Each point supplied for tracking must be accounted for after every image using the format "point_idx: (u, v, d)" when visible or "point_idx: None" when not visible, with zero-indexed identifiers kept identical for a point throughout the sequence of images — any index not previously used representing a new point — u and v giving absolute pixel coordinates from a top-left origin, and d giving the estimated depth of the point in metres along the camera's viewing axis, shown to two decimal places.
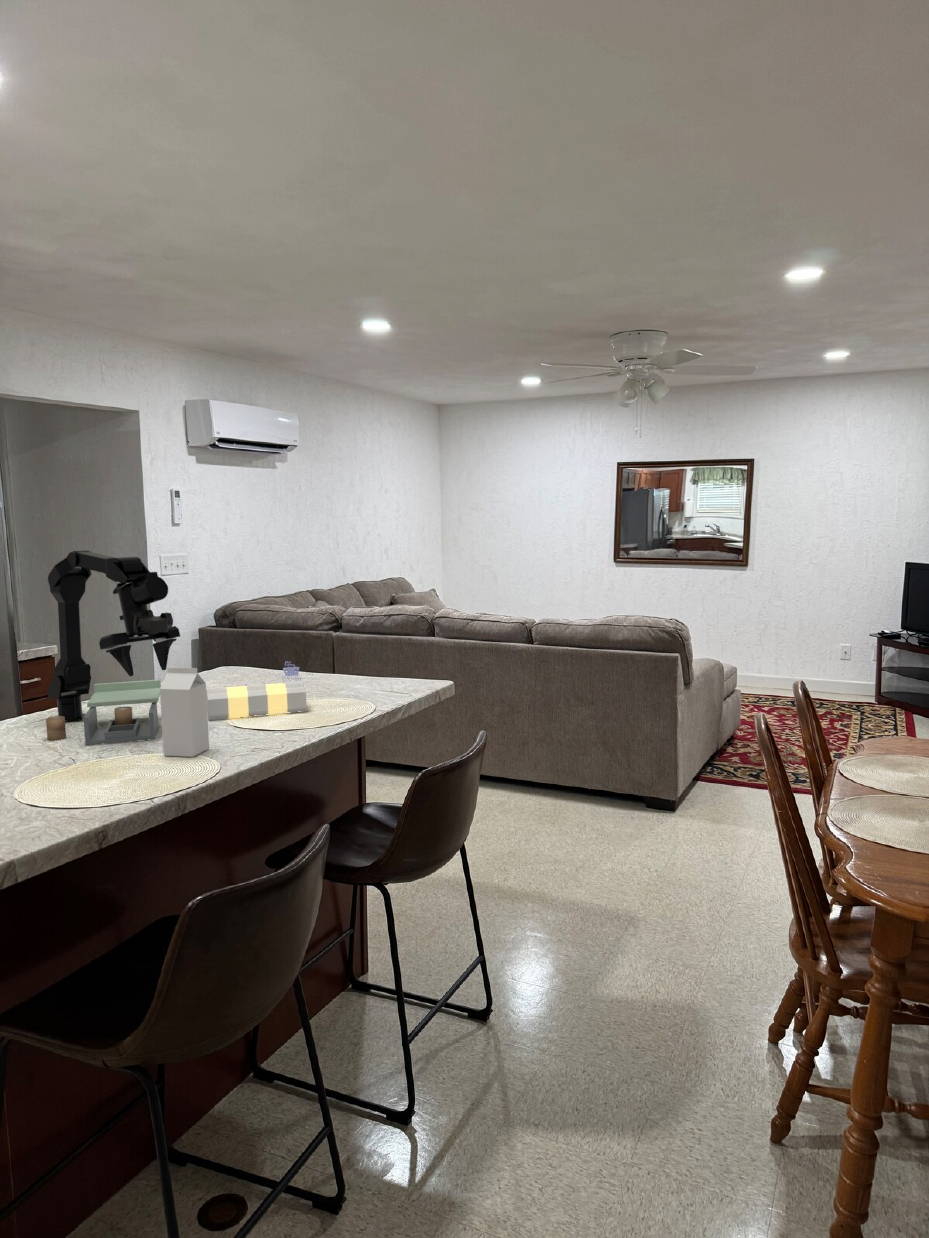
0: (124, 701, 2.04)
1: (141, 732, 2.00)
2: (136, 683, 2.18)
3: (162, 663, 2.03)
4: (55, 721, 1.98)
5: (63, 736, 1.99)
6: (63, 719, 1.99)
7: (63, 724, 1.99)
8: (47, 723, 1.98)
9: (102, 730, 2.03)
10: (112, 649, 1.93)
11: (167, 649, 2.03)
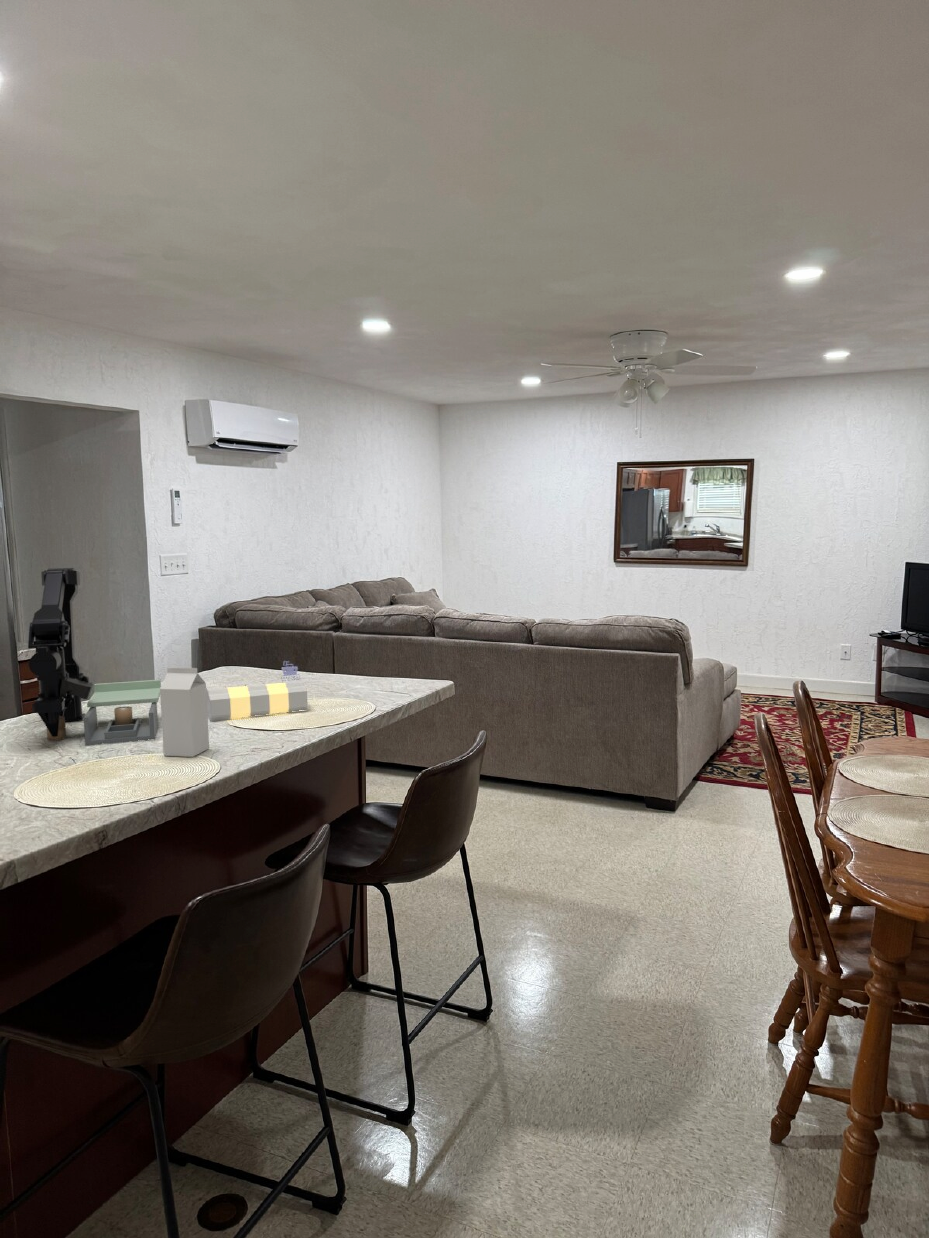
0: (124, 701, 2.04)
1: (141, 732, 2.00)
2: (136, 683, 2.18)
3: None
4: None
5: (63, 736, 1.99)
6: (63, 719, 1.99)
7: (63, 724, 1.99)
8: None
9: (102, 730, 2.03)
10: None
11: (63, 711, 2.03)
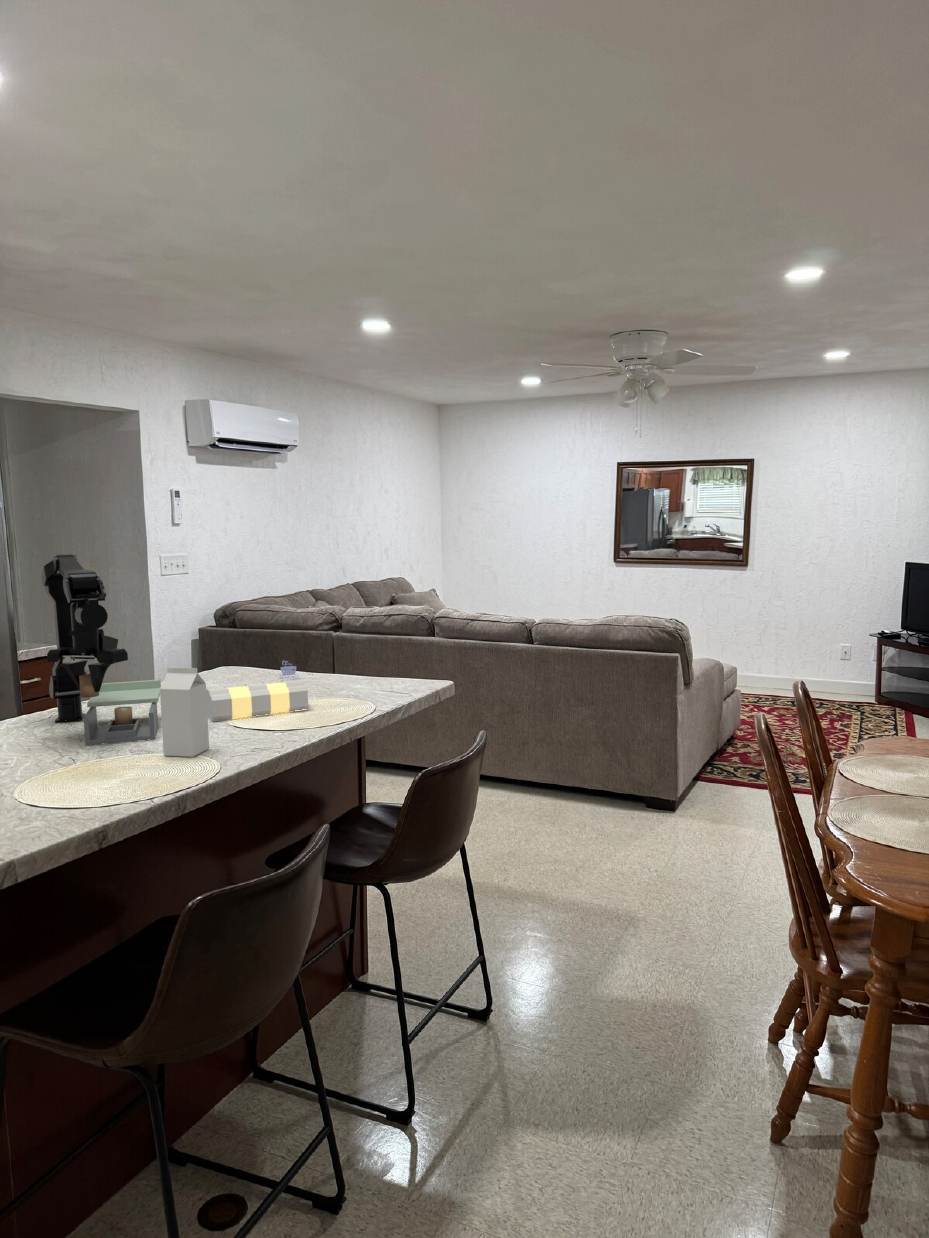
0: (124, 701, 2.04)
1: (141, 732, 2.00)
2: (136, 683, 2.18)
3: None
4: None
5: None
6: None
7: None
8: (87, 680, 1.95)
9: (102, 730, 2.03)
10: (107, 663, 1.95)
11: None
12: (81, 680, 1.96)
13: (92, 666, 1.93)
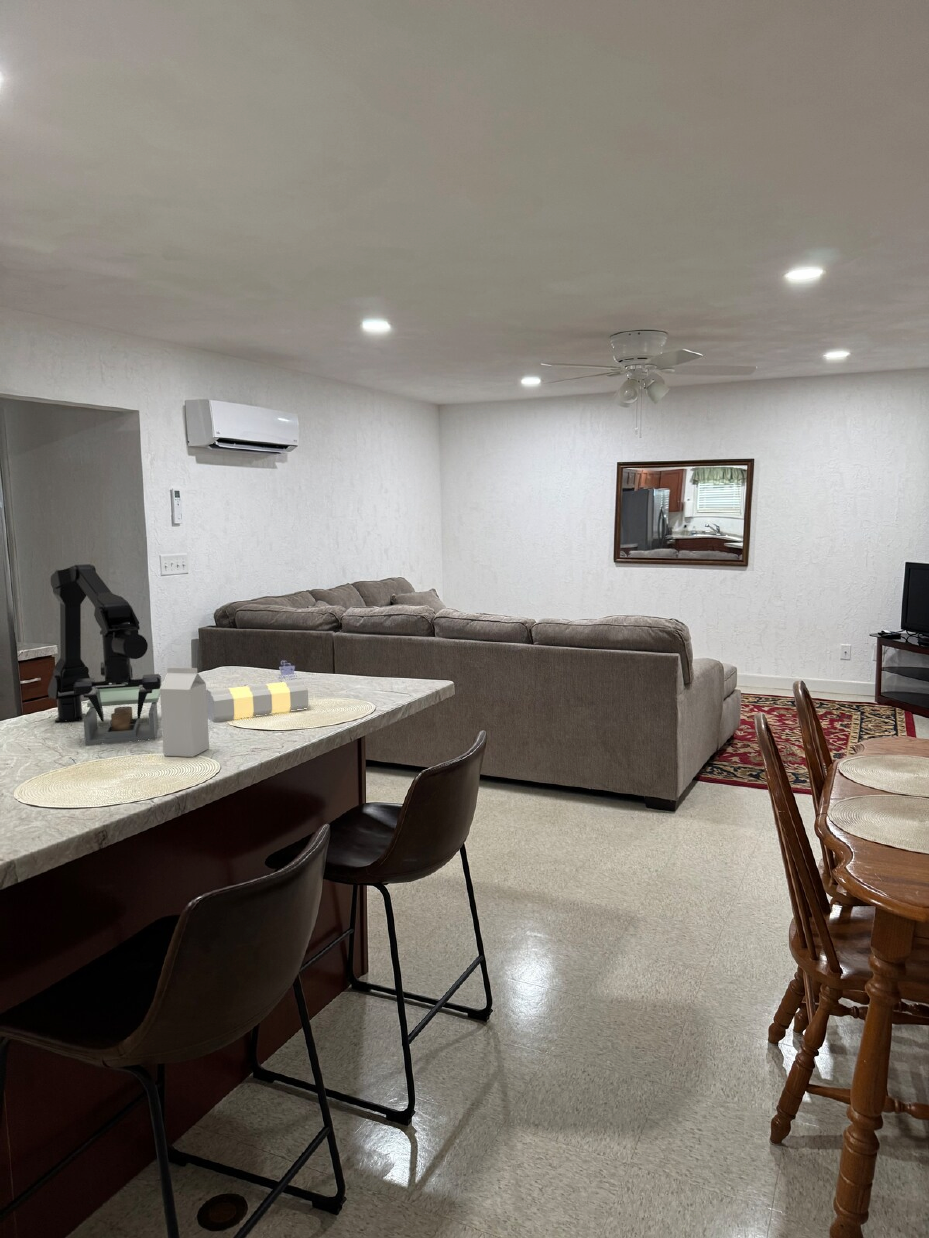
0: (124, 701, 2.04)
1: (141, 732, 2.00)
2: None
3: None
4: None
5: None
6: None
7: None
8: (125, 718, 1.97)
9: (102, 730, 2.03)
10: (152, 689, 2.00)
11: None
12: (118, 719, 1.96)
13: (144, 693, 1.97)
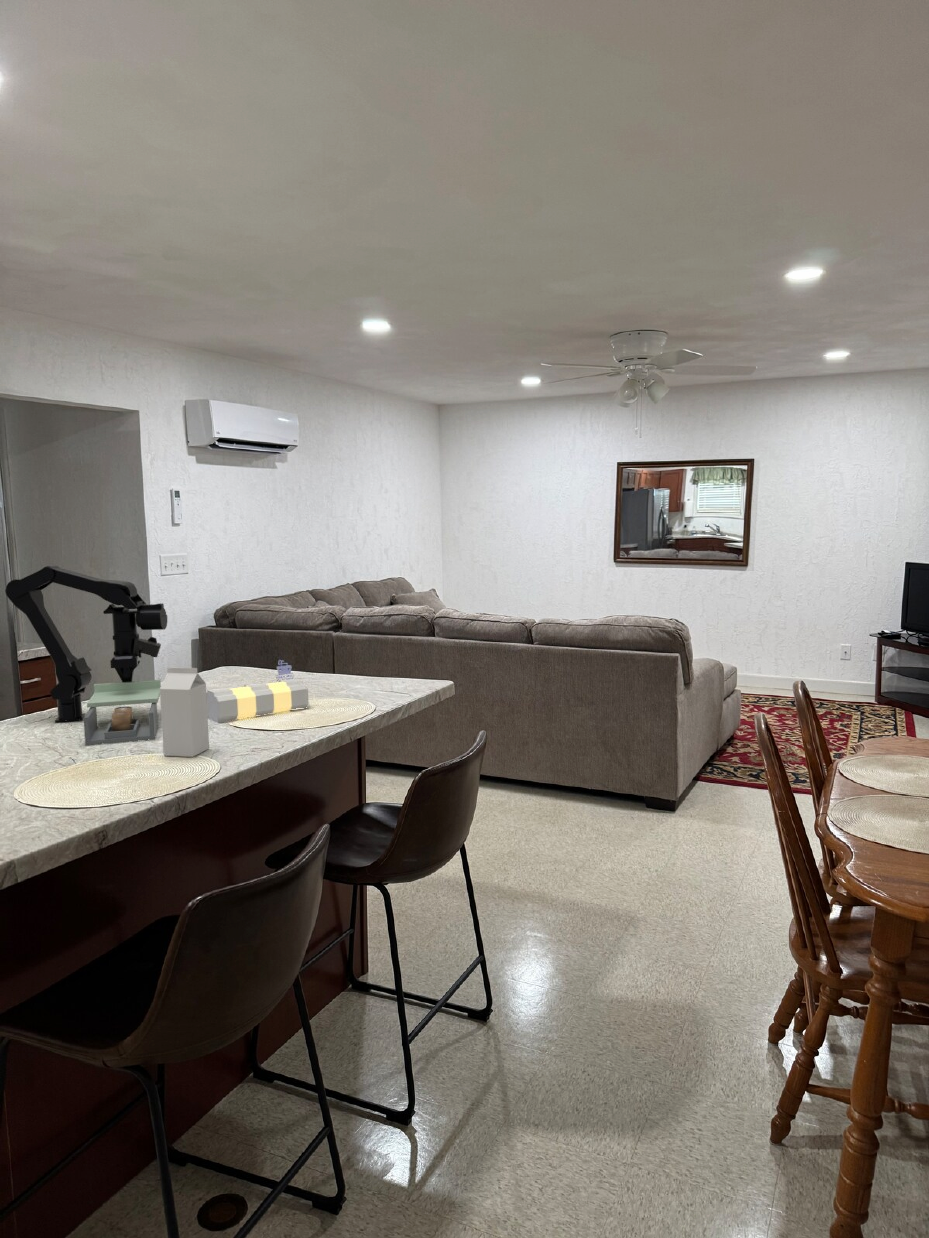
0: (124, 701, 2.04)
1: (141, 732, 2.00)
2: (136, 683, 2.18)
3: None
4: (129, 714, 1.99)
5: None
6: None
7: None
8: (126, 718, 1.97)
9: (102, 730, 2.03)
10: None
11: (133, 670, 2.21)
12: (119, 719, 1.96)
13: None
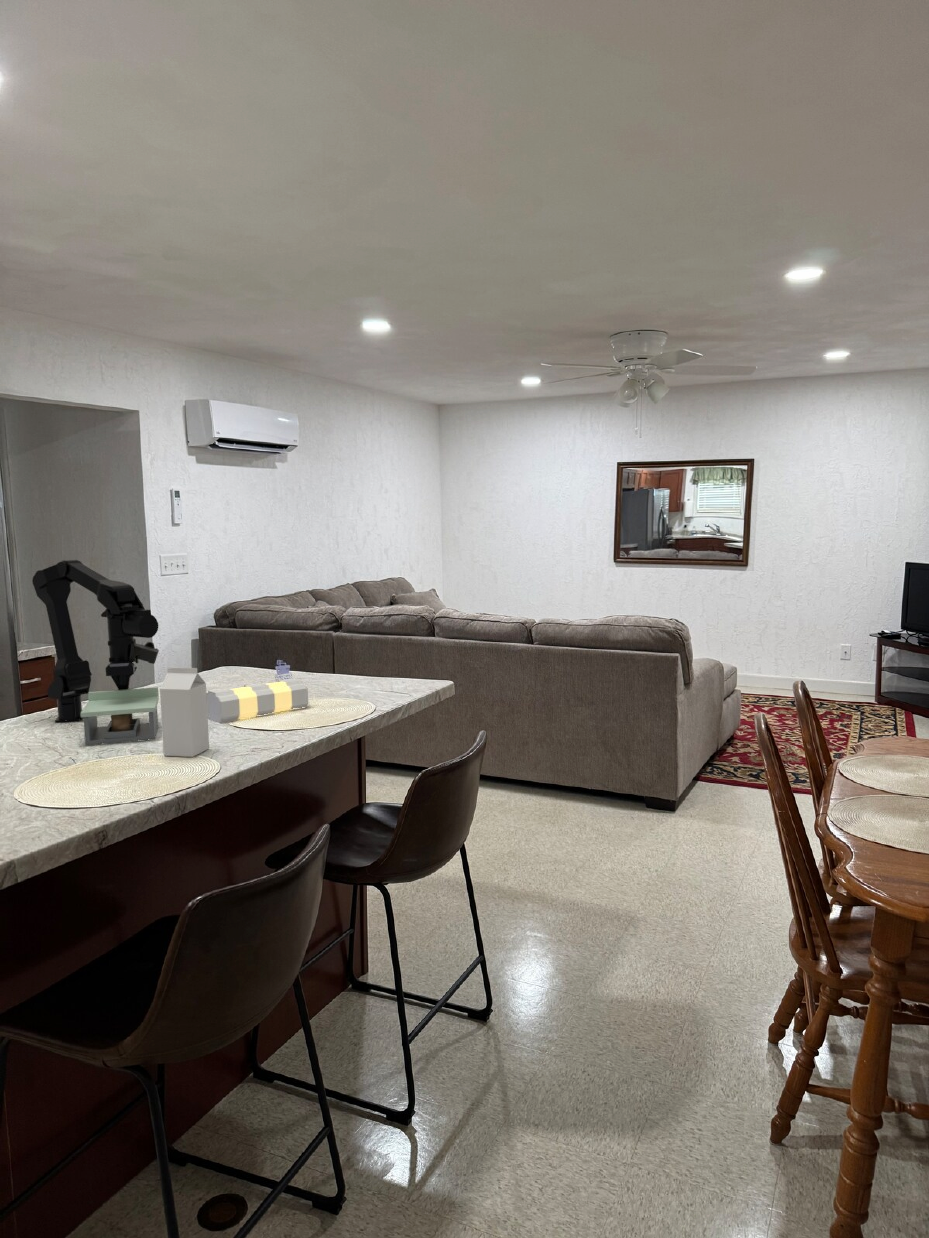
0: (119, 711, 1.94)
1: (141, 732, 2.00)
2: (132, 691, 2.07)
3: None
4: None
5: None
6: None
7: None
8: (125, 718, 1.97)
9: (102, 730, 2.03)
10: None
11: None
12: (119, 719, 1.96)
13: None
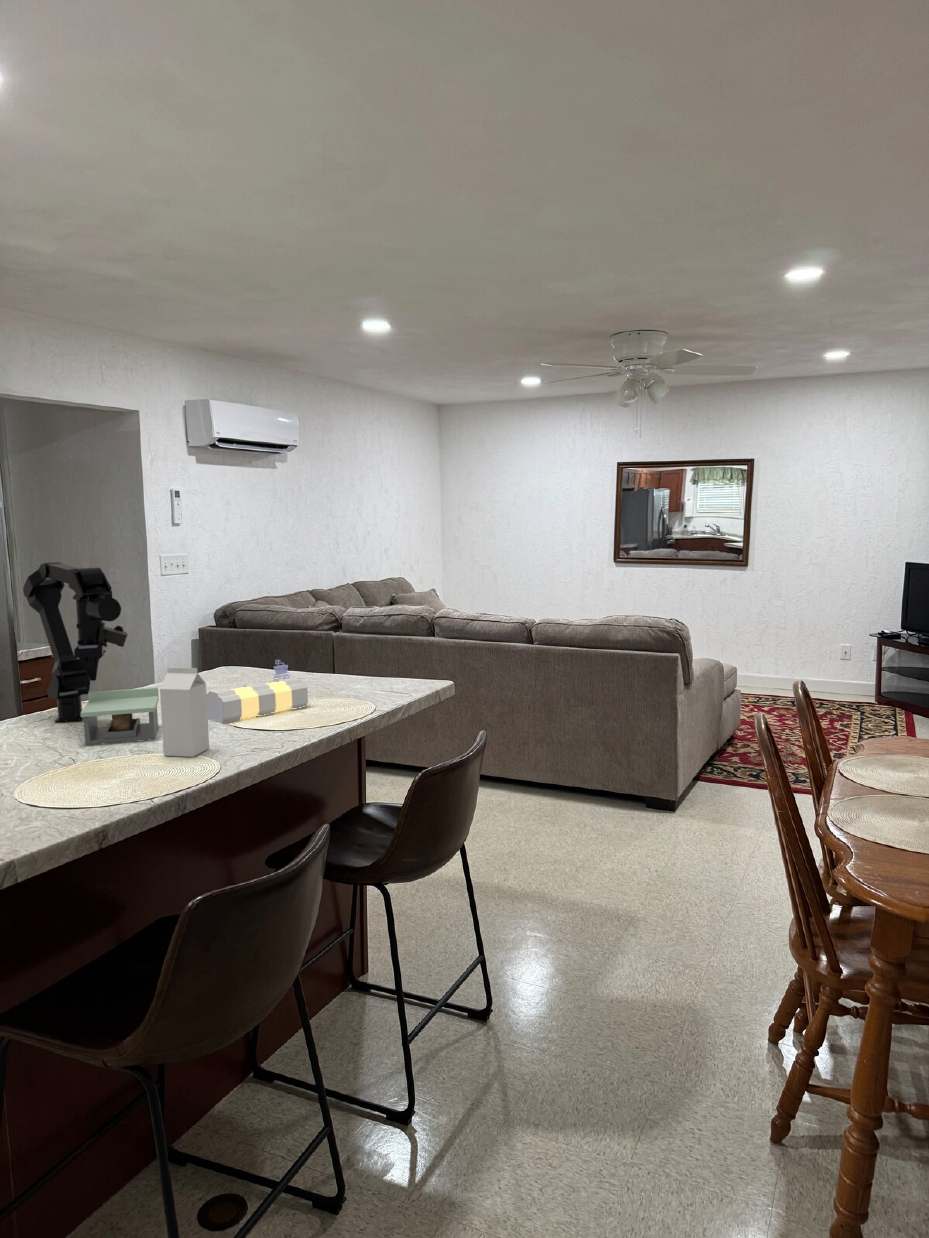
0: (119, 710, 1.94)
1: (141, 732, 2.00)
2: (132, 691, 2.07)
3: None
4: None
5: None
6: None
7: None
8: (126, 718, 1.97)
9: (102, 730, 2.03)
10: None
11: (98, 660, 2.11)
12: (120, 719, 1.96)
13: None
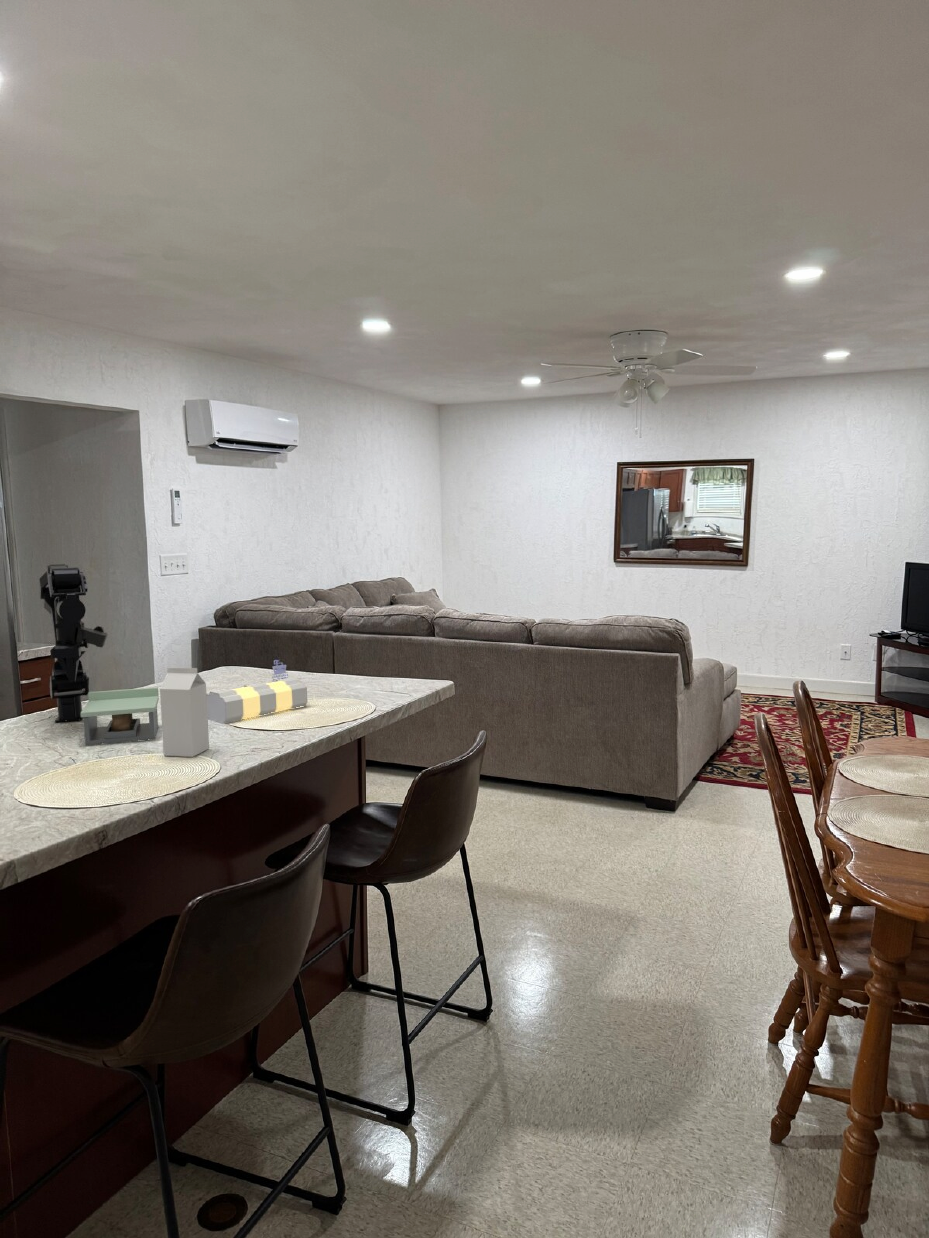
0: (119, 710, 1.94)
1: (141, 732, 2.00)
2: (132, 691, 2.07)
3: None
4: None
5: None
6: None
7: None
8: (127, 718, 1.98)
9: (102, 730, 2.03)
10: (68, 656, 2.04)
11: (78, 661, 2.09)
12: (120, 719, 1.96)
13: None
